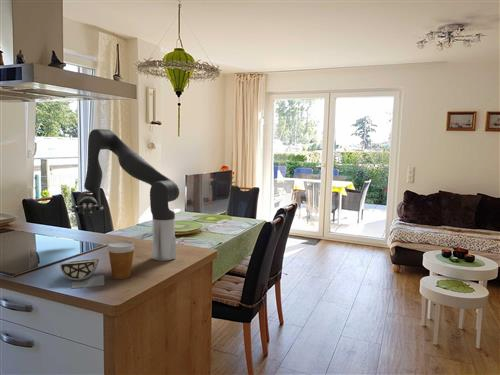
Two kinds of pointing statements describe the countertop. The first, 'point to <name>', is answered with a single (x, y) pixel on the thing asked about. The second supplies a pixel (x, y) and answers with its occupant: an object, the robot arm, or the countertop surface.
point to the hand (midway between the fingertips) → (87, 211)
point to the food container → (79, 269)
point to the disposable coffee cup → (121, 258)
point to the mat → (89, 282)
